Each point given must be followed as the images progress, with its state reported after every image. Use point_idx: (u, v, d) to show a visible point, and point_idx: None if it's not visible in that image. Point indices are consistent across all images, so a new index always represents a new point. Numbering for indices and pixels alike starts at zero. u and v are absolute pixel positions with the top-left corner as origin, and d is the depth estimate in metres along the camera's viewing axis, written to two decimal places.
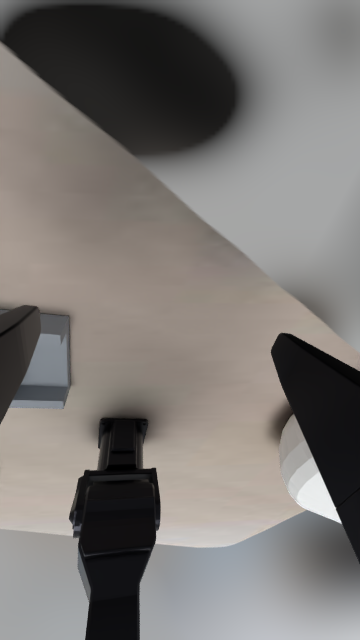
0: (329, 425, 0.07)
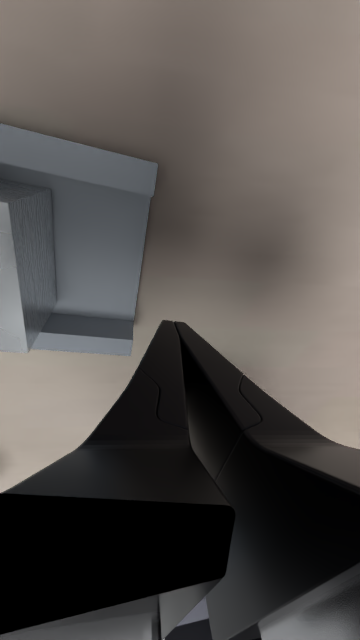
0: (191, 424, 0.06)
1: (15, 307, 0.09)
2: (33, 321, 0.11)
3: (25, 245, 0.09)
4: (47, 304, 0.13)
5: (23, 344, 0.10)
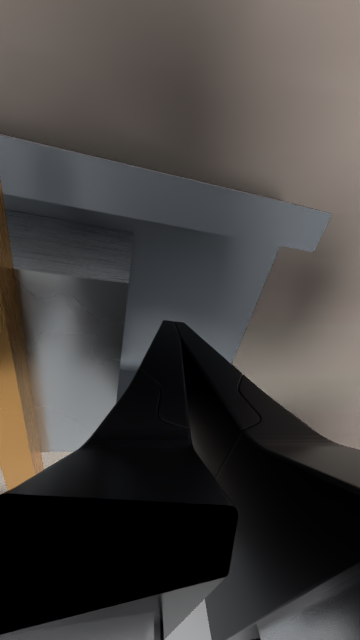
0: (190, 424, 0.06)
1: (108, 404, 0.07)
2: None
3: None
4: None
5: None
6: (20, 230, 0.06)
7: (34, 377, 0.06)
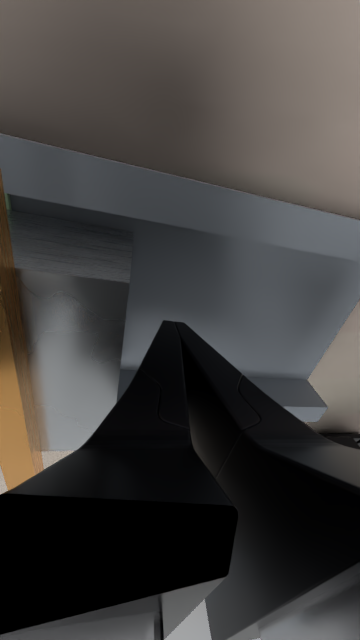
0: (190, 424, 0.06)
1: (108, 403, 0.07)
2: None
3: None
4: None
5: None
6: (21, 229, 0.06)
7: (34, 377, 0.06)
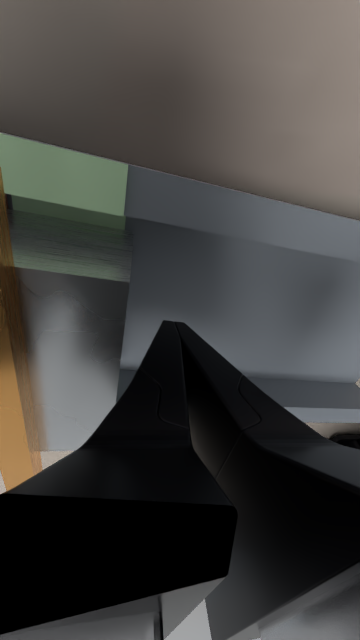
0: (190, 424, 0.06)
1: (107, 403, 0.07)
2: None
3: None
4: None
5: None
6: (21, 228, 0.06)
7: (33, 377, 0.06)
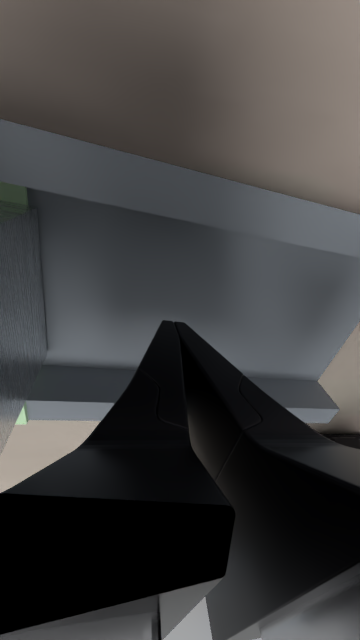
0: (191, 424, 0.06)
1: None
2: (9, 405, 0.07)
3: None
4: (33, 365, 0.09)
5: None
6: None
7: None
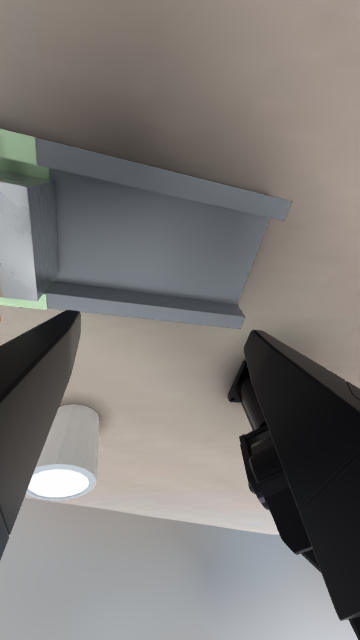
0: (294, 425, 0.07)
1: (29, 263, 0.13)
2: (41, 278, 0.15)
3: (37, 219, 0.13)
4: (52, 270, 0.16)
5: (34, 294, 0.14)
6: None
7: None
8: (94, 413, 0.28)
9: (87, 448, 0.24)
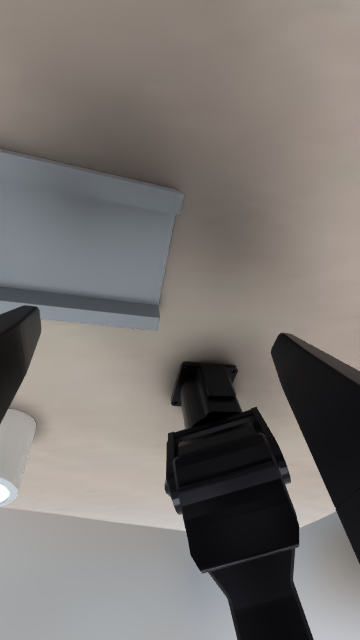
0: (329, 425, 0.07)
1: None
2: None
3: None
4: None
5: None
6: None
7: None
8: (28, 417, 0.27)
9: (9, 455, 0.23)
